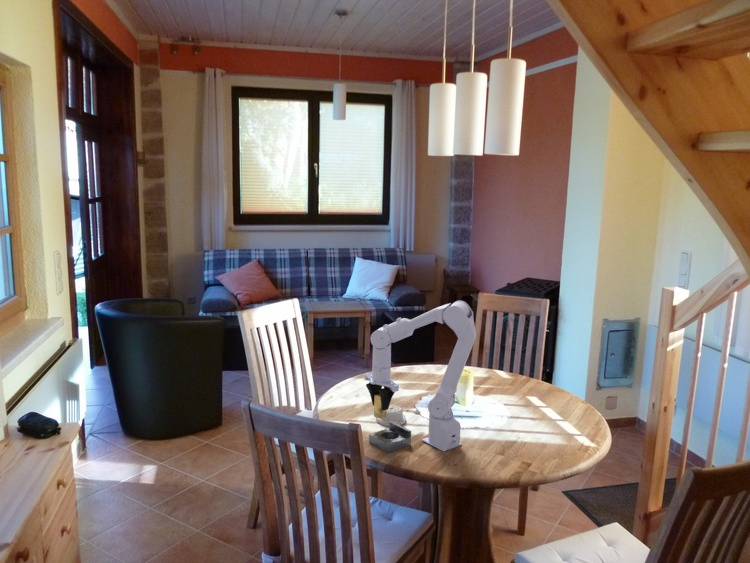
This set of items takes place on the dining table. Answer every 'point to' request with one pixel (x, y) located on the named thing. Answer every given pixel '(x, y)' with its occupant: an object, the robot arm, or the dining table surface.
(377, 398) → the brass cylinder rod
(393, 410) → the mechanical component
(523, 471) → the dining table surface
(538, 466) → the dining table surface
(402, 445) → the jig
